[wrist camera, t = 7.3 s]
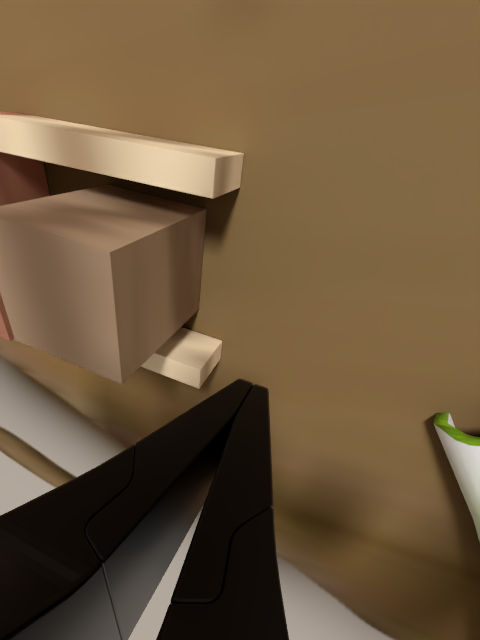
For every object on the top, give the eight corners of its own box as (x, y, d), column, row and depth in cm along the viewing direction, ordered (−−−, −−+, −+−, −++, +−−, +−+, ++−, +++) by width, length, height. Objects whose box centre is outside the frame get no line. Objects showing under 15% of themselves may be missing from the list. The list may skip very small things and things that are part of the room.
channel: (244, 153, 12) (192, 162, 9) (220, 358, 17) (183, 410, 14) (14, 112, 15) (-90, 107, 11) (55, 300, 20) (-8, 333, 17)
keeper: (206, 208, 14) (109, 252, 9) (199, 309, 16) (122, 384, 12) (108, 184, 15) (-26, 211, 10) (116, 281, 18) (14, 339, 13)
